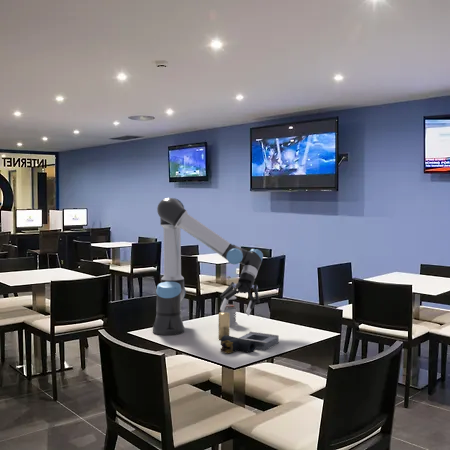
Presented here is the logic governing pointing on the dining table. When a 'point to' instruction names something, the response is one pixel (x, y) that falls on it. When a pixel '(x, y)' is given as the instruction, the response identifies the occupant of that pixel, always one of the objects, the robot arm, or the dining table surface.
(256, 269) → the robot arm
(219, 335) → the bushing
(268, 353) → the dining table surface
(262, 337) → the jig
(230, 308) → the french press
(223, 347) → the pipe connector
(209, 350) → the dining table surface
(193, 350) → the dining table surface
